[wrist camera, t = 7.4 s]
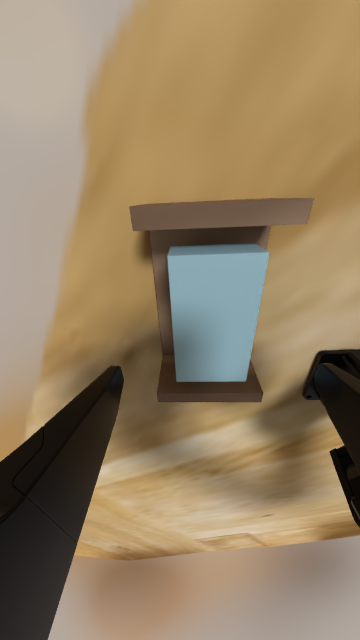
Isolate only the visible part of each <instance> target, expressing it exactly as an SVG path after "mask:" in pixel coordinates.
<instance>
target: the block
mask: <svg viewBox="0 0 360 640" xmlns="http://www.w3.org/2000/svg"><path fill="white" fill-rule="evenodd" d="M167 258H168V272H169V285H170V299H171V313H172V326H173V340H174V354H175V368H176V381H177V382H226V381H246V379H247V373H248V368H249V362H250V357H251V351H252V346H253V340H254V335H255V329H256V324H257V318H258V313H259V307H260V302H261V296H262V291H263V285H264V280H265V274H266V269H267V263H268V258H269V252H268V251H267V250H265V249H264V248H262V247H261V246H259V245H257V244H256V243H244V244H217V245H191V246H171V247H170V250H169V253H168V256H167Z"/></svg>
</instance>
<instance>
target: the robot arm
mask: <svg viewBox="0 0 360 640" xmlns="http://www.w3.org/2000/svg"><path fill="white" fill-rule="evenodd" d="M123 383H124V378H123V374H122V371H121V367H120V366H110V367H109V368H108V369H107V370H106V371H104V372H103V373H102V374H101V375H100V376H99V377H98V378H97V379H95V380H94V381H93V382H92V383H91V384H90V385H89V386H88V387H86V388H85V389H84V390H83V391H82V392H81V393H80V394H79V395H77V396H76V397H75V398H74V399H73V400H72V401H71V402H69V403H68V404H67V405H66V406H65V407H64V408H63V409H62V410H60V411H59V412H58V413H57V414H56V415H55V416H54V417H53V418H51V419H50V420H49V421H48V422H47V423H46V424H45V425H44V426H43V427H41V428H40V429H39V430H38V431H37V432H36V433H35V434H33V435H32V436H31V437H30V438H29V439H28V440H26V441H25V442H24V443H23V444H22V445H21V446H19V447H18V448H17V449H16V450H14V451H13V452H12V453H11V454H10V455H9V456H7V457H6V458H5V459H3V460H2V461H1V462H0V640H48V637H49V633H50V630H51V627H52V624H53V620H54V617H55V614H56V611H57V608H58V604H59V601H60V598H61V595H62V591H63V588H64V585H65V582H66V578H67V575H68V572H69V569H70V566H71V562H72V559H73V556H74V553H75V550H76V546H77V542H78V540H79V536H80V533H81V530H82V527H83V524H84V520H85V517H86V514H87V511H88V507H89V504H90V501H91V498H92V495H93V491H94V488H95V485H96V482H97V478H98V475H99V472H100V469H101V466H102V462H103V459H104V456H105V453H106V450H107V446H108V443H109V440H110V437H111V433H112V430H113V427H114V424H115V421H116V417H117V413H118V409H119V403H120V398H121V393H122V388H123ZM303 397H304V398H305V399H306V400H321V402H322V403H323V405H324V406H325V408H326V411H327V413H328V415H329V417H330V419H331V421H332V423H333V424H334V426H335V428H336V430H337V432H338V434H339V435H340V437H341V439H342V441H343V443H344V446H342V447H340V448H338V449H336V448H335V449H333V450H331V451H330V455H331V457H332V460H333V464H334V466H335V469H336V472H337V475H338V477H339V480H340V483H341V486H342V488H343V491H344V494H345V496H346V499H347V502H348V505H349V507H350V510H351V513H352V516H353V518H354V520H355V522H356V523H357V525H358V526H359V527H360V351H323V352H321V353H320V354H319V355H318V357H317V360H316V362H315V365H314V367H313V370H312V372H311V374H310V377H309V379H308V382H307V384H306V387H305V389H304V391H303Z"/></svg>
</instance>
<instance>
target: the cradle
mask: <svg viewBox="0 0 360 640" xmlns="http://www.w3.org/2000/svg"><path fill="white" fill-rule="evenodd" d="M313 200H314V198H268V199H246V200H224V201H202V202H180V203H158V204H144V205H137V206H130V207H129V208H130V214H131V221H132V228H133V231H143V230H149V232H150V241H151V250H152V259H153V268H154V278H155V287H156V296H157V305H158V314H159V323H160V333H161V342H162V351H163V358H162V365H161V371H160V377H159V384H158V390H157V397H158V402H261V400H262V396H263V392H262V389H261V386H260V384H259V381H258V379H257V376H256V374H255V371H254V368H253V366H252V363H251V361H250V362H249V368H248V373H247V379H246V381H226V382H177V381H176V368H175V354H174V340H173V326H172V313H171V299H170V285H169V272H168V258H167V256H168V253H169V250H170V247H171V246H191V245H217V244H244V243H256V244H257V245H259V246H261V247H262V248H264V249H265V250H267V244H268V238H269V232H270V227H271V225H296V224H307V223H308V219H309V216H310V212H311V208H312V204H313Z"/></svg>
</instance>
